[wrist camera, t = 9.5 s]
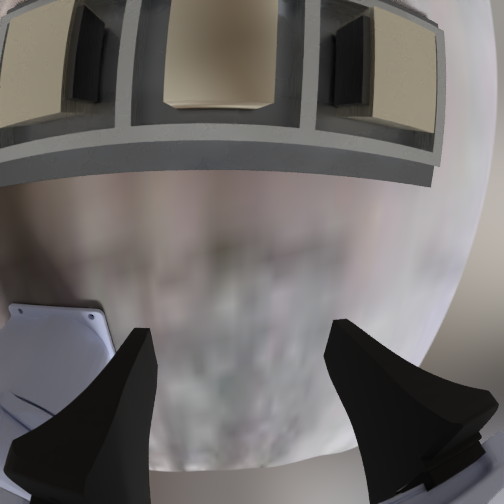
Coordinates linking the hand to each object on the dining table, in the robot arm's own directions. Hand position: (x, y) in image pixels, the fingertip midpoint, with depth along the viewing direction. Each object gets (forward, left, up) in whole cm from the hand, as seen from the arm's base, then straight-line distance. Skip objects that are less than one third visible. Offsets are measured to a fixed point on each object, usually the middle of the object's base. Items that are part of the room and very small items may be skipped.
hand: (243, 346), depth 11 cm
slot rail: (-1, +12, -8) cm, 15 cm away
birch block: (-1, +12, -7) cm, 14 cm away
